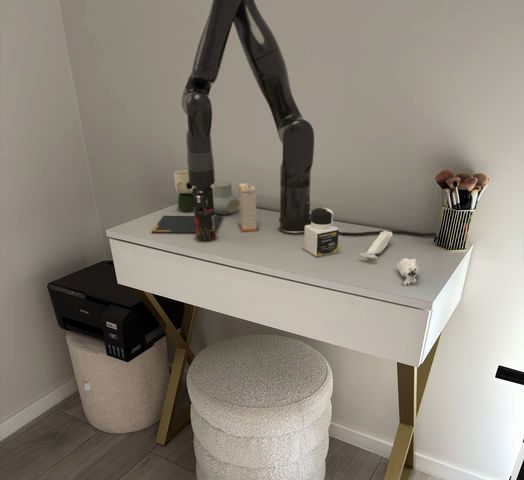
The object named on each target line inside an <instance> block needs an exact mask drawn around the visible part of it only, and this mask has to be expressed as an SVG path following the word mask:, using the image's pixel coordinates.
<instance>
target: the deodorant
mask: <svg viewBox="0 0 524 480" xmlns="http://www.w3.org/2000/svg"><path fill="white" fill-rule="evenodd" d="M213 189H214V187H212V186H211V187H207V189H206V191H205V200H204V204H205V203H206V200H207V201H208V207H207V208H206V213H207V214H206V220H207V227H206V228H200V227H199V217H198V215H196V208H195V199H194V196H195V195H197V187H196V188H194V189H193V202H194V210H193V213H194V214H193V215H194V216H195V226H196V234H195V237H196V238H195V239H196V240H197V241H198V242H203V243H204V242H205V243H207V242H212V241H215V240H216V239H217V238H216V237H217V236H216V232H215V218H214V216H215V213H214V202H213V196H214V190H213ZM200 211H202V208H200Z"/></svg>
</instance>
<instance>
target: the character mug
mask: <svg viewBox="0 0 524 480" xmlns="http://www.w3.org/2000/svg"><path fill="white" fill-rule="evenodd" d="M173 177H174V186H175V187H174V188H175V189H174V190H175V192H176V193H178V198H177V199H178V201H177V202H178V204H177V205H178V206H177V207H178V210H181V211H184V212H190V211H191V212H192V211H194V202H193V189H194V188H196V186H192V185H190V184H189V176H188V169H185V170H183V169H182V170H177V171H174V172H173Z"/></svg>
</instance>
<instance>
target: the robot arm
mask: <svg viewBox="0 0 524 480" xmlns="http://www.w3.org/2000/svg"><path fill="white" fill-rule="evenodd" d="M233 26H234V28H235V31H236V34H237V37H238V40H239V43H240V46H241V48H242V51H243V53H244V56H245V58H246V61H247V63H248V66H249V69H250V71H251V73H252V75H253V78H254V79H255V81H256V85H258V88H259V90H260V91H261V94H262V96H263V98H264V99H265V101H266V103H267V105H268V107H269V110H270V112H271V115H272V118H273V122H274V125H275V128H276V132H277V135H278V139H279V141H280V143H281V144H282V160H281V164H280V167H279V168H280V169H279V170H280V171H279V183H280V184H279V191H280V192H279V219H278V223H279V231H281V232H282V233H284V234H289V235H299V234H304V233H305V225H311V177H312V167H313V164H314V154H315V131H314V128H313V126H312V124H311V123H310V122H309V120H306V119H305V118H304V117H303V114H302V113H301V111H300V110H299V107H298V105H297V103H296V101H295V99H294V96H293V93H292V89H291V83H290V76H289V73H288V72H289V71H288V68H287V64H286V60H285V58H284V55H283V53H282V50H281V48H280V45H279V43H278V40H277V39H276V36H275V34H274V32H273V31H272V29H271V27H270V26H269V25H268V23H267V22H266V19H264V17H263V16H262V14H261V12H260V10H259V8H258V6H257V4H256V1H255V0H212V3H211V7H210V9H209V14H208V16H207V19H206V22H205V25H204V27H203V30H202V33H201V35H200V38H199V41H198V44H197V47H196V50H195V51H196V52H195V55H194V58H193V63H192V66H191V72H190V75H189V77H188V78H187V81H186V84H185V86H184V89H183V92H182V96H181V108H182V111H183V112H184V113H185V114H186V116H187V131H186V134H185V138H186V141H185V142H186V152H187V153H186V154H187V155H186V160H187V161H186V162H187V170H188V176H189V184H190V185H192V186H196V187H197V195H195V196H194V199H195V208H196V215H198V217H199V227H200V228H206V227H207V220H206V214H207V213H206V208H207V207H208V201H207V200H206V203H205V204H204V200H205V191H206V189H207V187H211V188H212V185H214V184H215V183H216V178H215V160H214V154H213V153H214V152H213V143H212V124H213V106H212V101H211V99H210V97H209V96H210V93H211V89H212V86H213V85H214V84H215V83H216V82H217V80H218V77H219V74H220V70H221V67H222V62H223V59H224V56H225V51H226V49H227V45H228V42H229V41H228V40H229V37H230V33H231V31H232V30H231V29H232V27H233ZM200 208H202V211H200ZM383 231H384V230H375V231H374V230H373V231H363V232H362V231H361V232H349V231H348V232H347V231H346V232H345V231H339V233H338V235H340V236H342V235H343V236H365V235H366V236H367V235H379V234H380V233H381V232H383ZM388 231H389V232H392V234H404V235H410V236H417V237H418V236H419V237H428V236H429V237H430V236H434V237H437V236H436V233H437V232H415V231H408V230H394V229H393V230H392V229H390V230H389V229H388Z"/></svg>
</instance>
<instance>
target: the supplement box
mask: <svg viewBox="0 0 524 480" xmlns="http://www.w3.org/2000/svg"><path fill="white" fill-rule="evenodd" d="M238 200H239V207H238V208H239V226H240V227H241V230H242V232H253V231H258V230H257V229H258V228H257V225H258V223H257V189H256V186H255V185H254V183H253V182H247V183H244V182H243V183H238Z"/></svg>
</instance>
